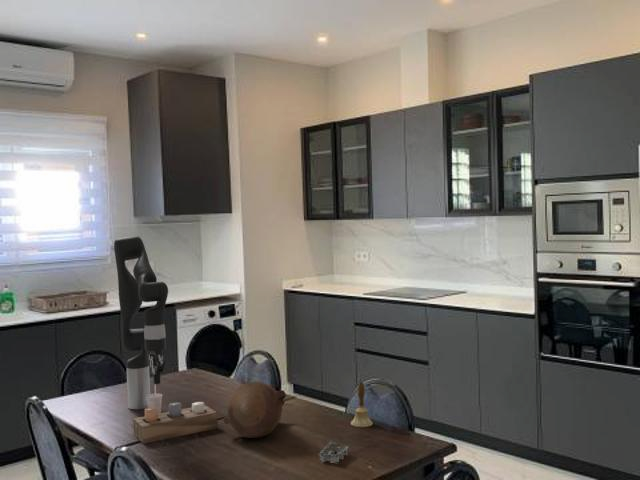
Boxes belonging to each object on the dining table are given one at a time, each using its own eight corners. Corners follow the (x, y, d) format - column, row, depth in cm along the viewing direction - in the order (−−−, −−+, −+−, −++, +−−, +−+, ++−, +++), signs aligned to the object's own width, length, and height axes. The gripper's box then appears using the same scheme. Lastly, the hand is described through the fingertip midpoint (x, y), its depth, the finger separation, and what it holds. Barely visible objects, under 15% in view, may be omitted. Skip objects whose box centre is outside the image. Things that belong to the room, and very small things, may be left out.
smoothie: (159, 422, 249) (157, 386, 248) (143, 421, 250) (142, 386, 250) (166, 417, 255) (164, 382, 255) (151, 416, 256) (150, 382, 256)
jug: (261, 449, 216) (295, 435, 244) (274, 392, 217) (306, 385, 245) (210, 432, 223) (248, 420, 251) (223, 376, 224) (259, 371, 252)
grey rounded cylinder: (167, 419, 238) (166, 403, 238) (179, 417, 240) (178, 401, 240) (171, 422, 234) (171, 406, 234) (183, 420, 237) (183, 404, 236)
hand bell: (375, 421, 241) (374, 379, 241) (368, 428, 234) (366, 385, 233) (355, 419, 245) (354, 378, 244) (347, 426, 237) (345, 383, 237)
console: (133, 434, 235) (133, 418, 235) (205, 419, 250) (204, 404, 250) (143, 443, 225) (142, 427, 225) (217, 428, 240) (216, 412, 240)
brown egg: (143, 424, 233) (143, 408, 233) (156, 422, 236) (155, 406, 236) (147, 427, 229) (146, 411, 229) (159, 425, 232) (159, 408, 232)
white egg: (190, 418, 243) (190, 403, 243) (202, 416, 245) (201, 401, 245) (195, 422, 239) (194, 406, 239) (206, 419, 241) (206, 403, 241)
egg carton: (331, 451, 212) (331, 439, 212) (351, 455, 209) (350, 442, 209) (316, 462, 204) (315, 449, 203) (336, 465, 200) (335, 453, 200)
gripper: (139, 335, 236) (141, 381, 237) (150, 340, 225) (152, 389, 226) (158, 333, 240) (160, 378, 241) (171, 337, 229) (173, 385, 230)
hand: (156, 383), depth 233 cm, fingers closed
